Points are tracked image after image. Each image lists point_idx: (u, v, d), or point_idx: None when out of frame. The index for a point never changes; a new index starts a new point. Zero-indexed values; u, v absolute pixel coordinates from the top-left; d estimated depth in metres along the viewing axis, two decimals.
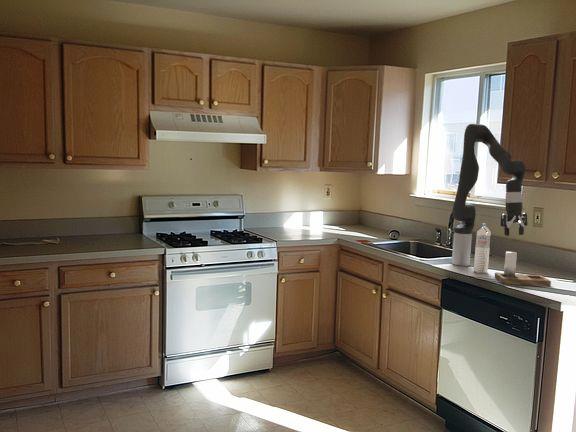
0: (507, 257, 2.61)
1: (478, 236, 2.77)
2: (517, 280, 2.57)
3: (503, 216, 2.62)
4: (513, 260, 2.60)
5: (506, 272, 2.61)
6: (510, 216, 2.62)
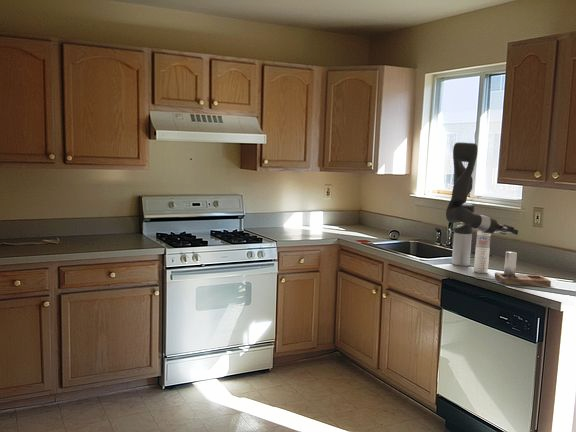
0: (507, 257, 2.61)
1: (478, 236, 2.78)
2: (517, 280, 2.57)
3: None
4: (513, 260, 2.60)
5: (506, 272, 2.61)
6: None
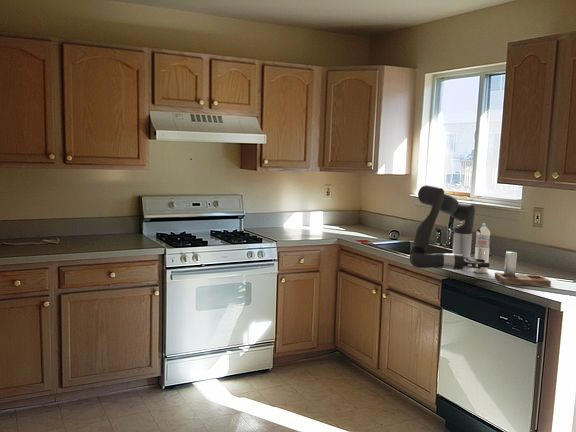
0: (507, 257, 2.61)
1: (478, 236, 2.78)
2: (517, 280, 2.57)
3: None
4: (513, 260, 2.60)
5: (506, 272, 2.61)
6: None
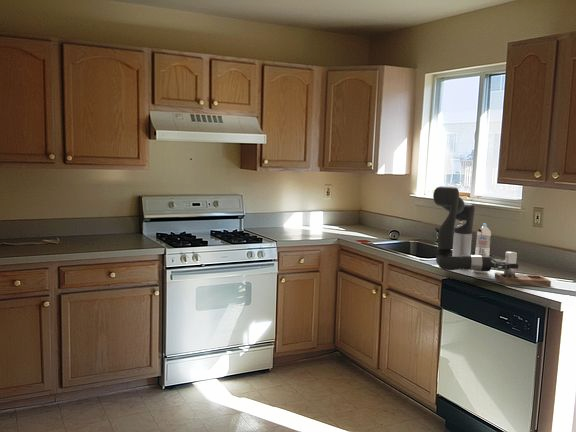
0: (507, 257, 2.61)
1: (478, 236, 2.77)
2: (517, 280, 2.57)
3: None
4: (513, 260, 2.60)
5: (506, 272, 2.61)
6: None
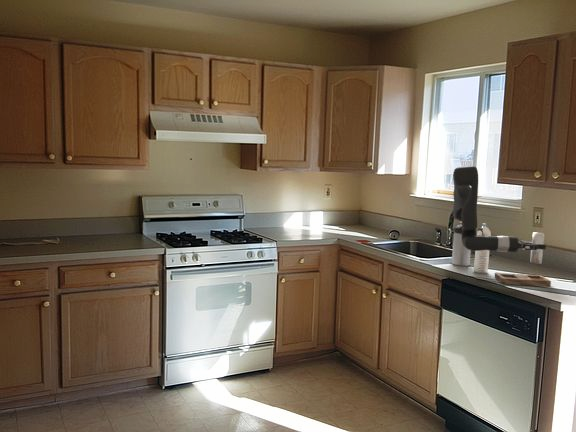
0: (534, 238, 2.59)
1: (478, 236, 2.78)
2: (517, 280, 2.57)
3: None
4: (540, 241, 2.57)
5: (534, 253, 2.59)
6: None
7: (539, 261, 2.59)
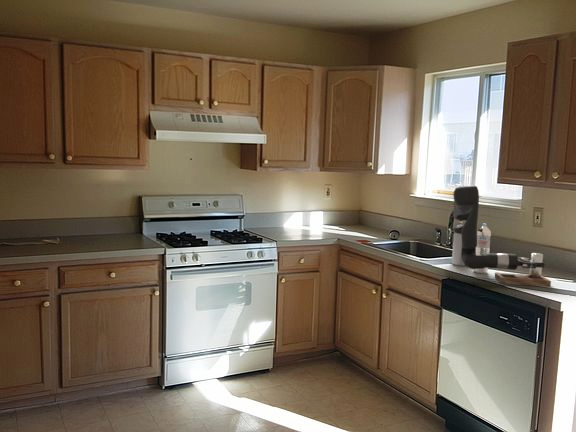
0: (533, 259, 2.60)
1: (478, 236, 2.78)
2: (517, 280, 2.57)
3: None
4: (539, 261, 2.59)
5: (532, 273, 2.60)
6: None
7: None
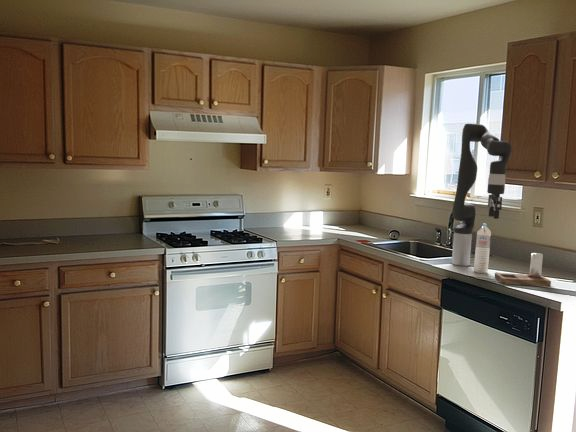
0: (532, 259, 2.60)
1: (478, 236, 2.77)
2: (517, 280, 2.57)
3: None
4: (539, 261, 2.59)
5: (532, 273, 2.60)
6: None
7: None
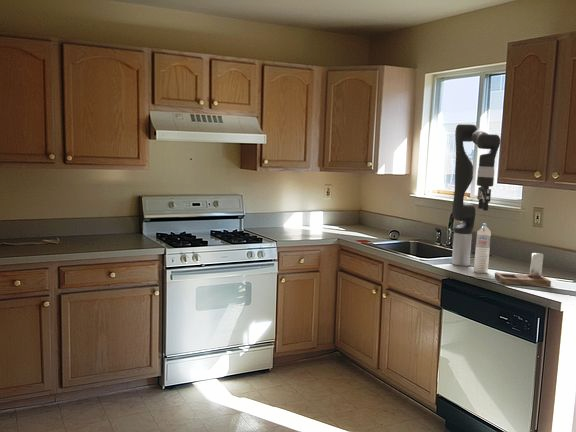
0: (533, 259, 2.60)
1: (478, 236, 2.78)
2: (517, 280, 2.57)
3: None
4: (539, 261, 2.59)
5: (533, 273, 2.60)
6: (480, 190, 2.69)
7: None
